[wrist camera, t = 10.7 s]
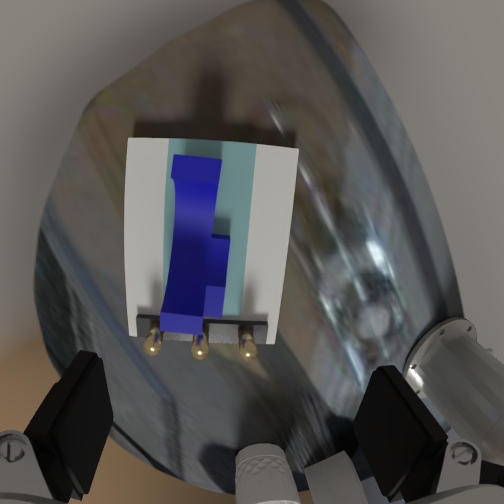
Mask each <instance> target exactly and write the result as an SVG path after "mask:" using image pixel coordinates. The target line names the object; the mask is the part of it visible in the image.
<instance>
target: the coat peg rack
mask: <svg viewBox="0 0 504 504" xmlns="http://www.w3.org/2000/svg"><path fill="white" fill-rule="evenodd" d="M268 326H269V325H268V322H267V321H241V320H218V319H203V325H202V335H192V334H183V333H175V332H167V331H160V316H158V315H146V314H137V316H136V328H137V337H146V340H145V342H144V345H143V349H144V351H145V352H146V353H147V354H149V355H157V354H158V353H159V351H160V347H161V344H162V340H163V339H169V340H183V341H192V348H191V354H192V355H193V356H194V357H195V358H197V359H203V358H205V357H207V355H208V347H209V342H217V343H239V349H240V356H241V358H242V359H243V360H246V361H251V360H253V359H255V358H256V356H257V349H256V344H266V341H267V333H268Z"/></svg>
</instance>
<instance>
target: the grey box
mask: <svg viewBox="0 0 504 504" xmlns="http://www.w3.org/2000/svg"><path fill="white" fill-rule="evenodd" d="M304 472H305V475H306V479H307V482H308V485H309V489H310V492H311V495H312V499H313V501H314V503H315V504H368V501H367V499H366V496H365V493H364V490H363V487H362V485H361V482H360V480H359V478H358V475H357V473H356V471H355V468H354V466H353V464H352V461H351V459H350V458H349V456H348V455H347V454H346V452H345V451H342V452H340V453H338V454H335V455H333V456H331V457H329V458H327V459H325V460H323V461H320V462H318V463H316V464H314V465H311V466H309V467H306V468H304Z"/></svg>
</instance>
